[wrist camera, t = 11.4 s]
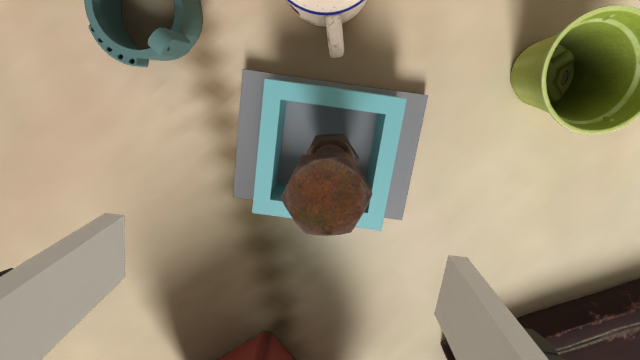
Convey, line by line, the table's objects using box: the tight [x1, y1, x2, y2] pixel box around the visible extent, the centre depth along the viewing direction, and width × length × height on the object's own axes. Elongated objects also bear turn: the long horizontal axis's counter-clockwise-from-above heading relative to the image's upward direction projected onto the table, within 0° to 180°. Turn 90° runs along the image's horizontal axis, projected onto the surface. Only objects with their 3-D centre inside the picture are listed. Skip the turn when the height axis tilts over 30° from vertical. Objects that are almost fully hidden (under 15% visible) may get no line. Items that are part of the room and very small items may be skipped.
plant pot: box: [511, 5, 640, 134], centre depth 32 cm, size 9×9×9 cm
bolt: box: [281, 134, 372, 236], centre depth 30 cm, size 6×5×15 cm
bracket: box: [84, 0, 203, 67], centre depth 32 cm, size 9×9×9 cm
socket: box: [233, 69, 428, 231], centre depth 36 cm, size 18×13×6 cm
